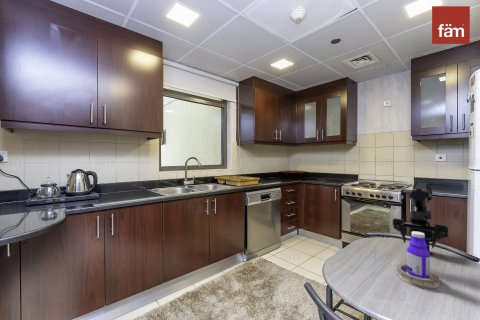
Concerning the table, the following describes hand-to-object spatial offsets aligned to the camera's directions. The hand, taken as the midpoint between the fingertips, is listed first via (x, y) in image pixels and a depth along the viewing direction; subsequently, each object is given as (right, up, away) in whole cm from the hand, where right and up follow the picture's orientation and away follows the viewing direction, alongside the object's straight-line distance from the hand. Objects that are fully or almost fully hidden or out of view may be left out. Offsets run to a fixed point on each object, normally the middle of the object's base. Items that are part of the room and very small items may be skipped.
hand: (418, 245), depth 92 cm
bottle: (-4, -10, -6) cm, 13 cm away
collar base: (-5, -11, -5) cm, 13 cm away
